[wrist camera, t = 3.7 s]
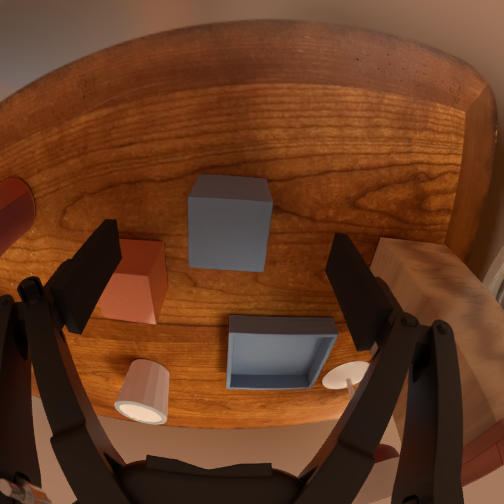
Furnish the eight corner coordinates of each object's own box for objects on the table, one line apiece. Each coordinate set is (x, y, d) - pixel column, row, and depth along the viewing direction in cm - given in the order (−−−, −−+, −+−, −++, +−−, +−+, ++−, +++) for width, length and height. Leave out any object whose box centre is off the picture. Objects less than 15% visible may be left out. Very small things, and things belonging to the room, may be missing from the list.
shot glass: (178, 366, 32) (171, 413, 26) (169, 388, 35) (163, 429, 29) (127, 349, 30) (113, 395, 24) (125, 374, 34) (114, 414, 28)
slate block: (266, 178, 20) (273, 202, 16) (259, 236, 23) (263, 272, 18) (199, 173, 20) (187, 196, 15) (198, 232, 22) (188, 267, 18)
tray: (333, 317, 28) (338, 334, 26) (308, 373, 34) (311, 388, 31) (229, 314, 27) (228, 332, 25) (226, 372, 33) (225, 388, 31)
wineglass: (368, 382, 37) (399, 492, 20) (316, 393, 37) (336, 511, 20) (380, 354, 33) (423, 482, 16) (320, 366, 33) (348, 508, 16)
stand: (454, 237, 23) (572, 390, 5) (417, 314, 29) (486, 461, 11) (374, 225, 22) (514, 458, 4) (341, 317, 28) (398, 510, 10)
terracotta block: (164, 241, 22) (148, 276, 18) (168, 286, 25) (156, 324, 21) (112, 237, 22) (88, 270, 18) (121, 282, 25) (103, 317, 20)
